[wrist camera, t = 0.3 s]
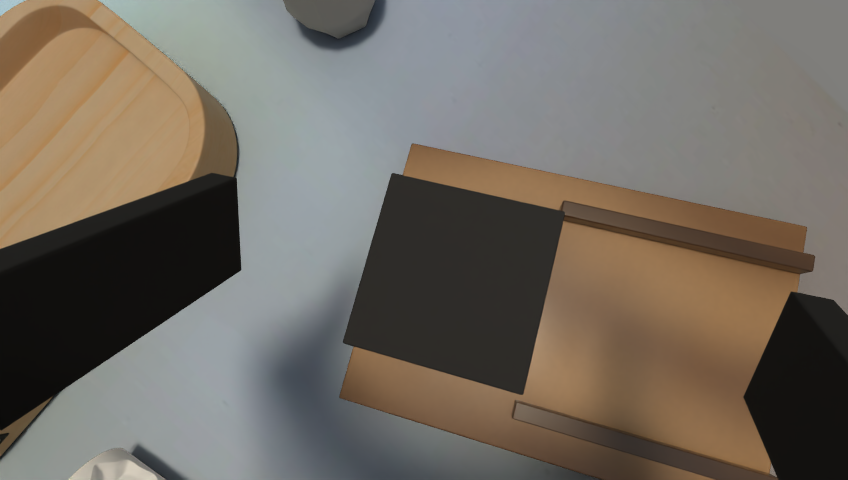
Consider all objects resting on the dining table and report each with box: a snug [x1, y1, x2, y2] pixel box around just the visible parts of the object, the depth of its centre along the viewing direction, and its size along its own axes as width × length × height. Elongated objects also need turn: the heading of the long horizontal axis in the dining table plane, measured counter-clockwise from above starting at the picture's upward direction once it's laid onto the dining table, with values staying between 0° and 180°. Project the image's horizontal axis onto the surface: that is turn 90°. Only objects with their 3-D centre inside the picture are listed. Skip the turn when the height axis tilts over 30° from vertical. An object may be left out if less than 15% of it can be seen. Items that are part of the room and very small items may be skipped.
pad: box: [343, 173, 565, 395], centre depth 24 cm, size 8×8×4 cm
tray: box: [339, 144, 815, 480], centre depth 25 cm, size 14×20×2 cm
